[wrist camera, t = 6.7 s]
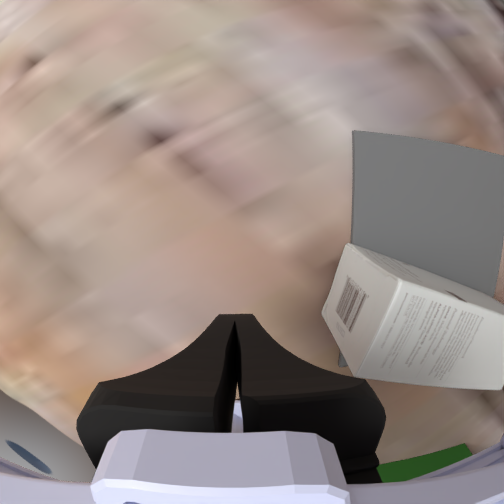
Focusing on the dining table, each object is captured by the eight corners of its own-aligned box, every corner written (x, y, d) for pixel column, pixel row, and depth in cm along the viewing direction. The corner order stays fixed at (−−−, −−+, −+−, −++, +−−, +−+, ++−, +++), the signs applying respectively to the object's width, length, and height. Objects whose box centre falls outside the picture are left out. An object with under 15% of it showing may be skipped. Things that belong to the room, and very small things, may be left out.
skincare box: (344, 240, 21) (478, 285, 23) (315, 318, 22) (452, 343, 24) (404, 282, 13) (540, 322, 15) (352, 389, 14) (503, 391, 16)
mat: (479, 339, 25) (481, 341, 24) (338, 364, 24) (339, 367, 24) (505, 156, 20) (507, 156, 20) (352, 131, 20) (354, 130, 19)
